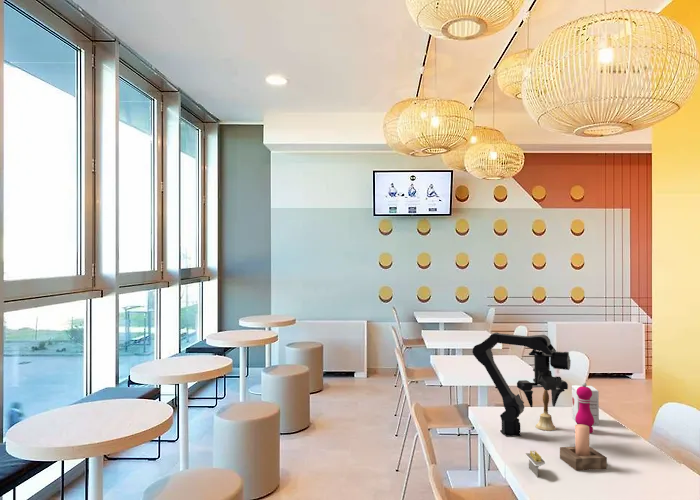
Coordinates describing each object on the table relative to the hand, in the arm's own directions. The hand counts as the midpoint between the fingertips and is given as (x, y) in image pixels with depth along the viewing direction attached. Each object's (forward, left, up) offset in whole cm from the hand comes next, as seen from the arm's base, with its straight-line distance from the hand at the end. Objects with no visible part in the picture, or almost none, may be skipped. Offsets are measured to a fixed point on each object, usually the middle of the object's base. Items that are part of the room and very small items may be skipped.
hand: (542, 406), depth 207 cm
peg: (+2, -25, -13) cm, 28 cm away
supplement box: (+29, +20, -13) cm, 38 cm away
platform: (-17, -31, -14) cm, 38 cm away
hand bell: (+8, +14, -13) cm, 21 cm away
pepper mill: (+22, +8, -13) cm, 27 cm away
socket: (+2, -25, -13) cm, 28 cm away
